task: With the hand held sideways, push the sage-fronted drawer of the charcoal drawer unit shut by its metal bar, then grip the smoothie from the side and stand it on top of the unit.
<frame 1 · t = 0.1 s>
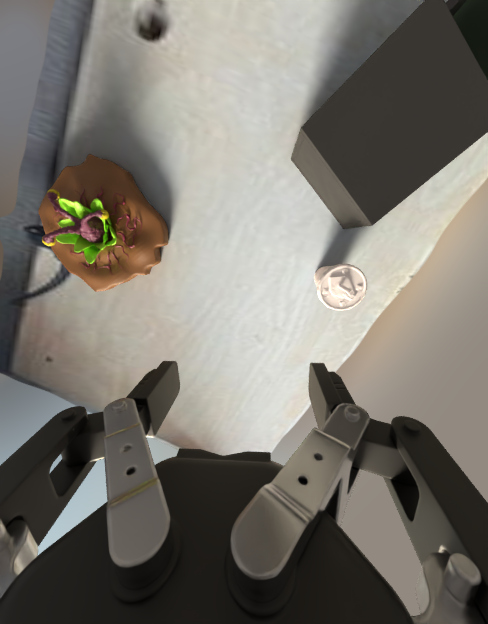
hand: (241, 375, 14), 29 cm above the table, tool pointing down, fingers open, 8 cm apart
drawer: (461, 65, 27), point 5 cm above the table, slide at 7.0 cm
smoothie: (324, 276, 41), on the table
plant: (108, 230, 41), on the table
cabinet: (361, 155, 35), on the table
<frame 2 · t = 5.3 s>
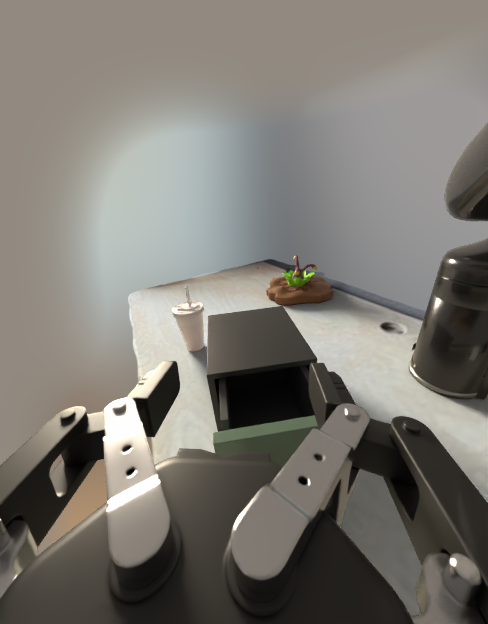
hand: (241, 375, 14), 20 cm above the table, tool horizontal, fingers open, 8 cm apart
drawer: (270, 418, 28), point 5 cm above the table, slide at 7.0 cm
smoothie: (195, 347, 52), on the table
plant: (297, 292, 75), on the table
cabinet: (256, 385, 40), on the table
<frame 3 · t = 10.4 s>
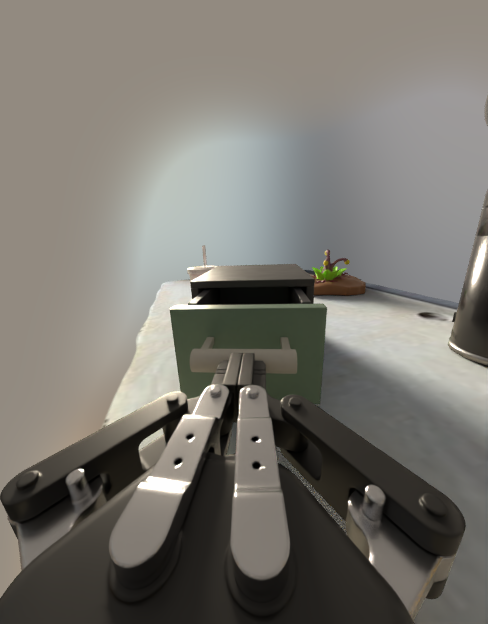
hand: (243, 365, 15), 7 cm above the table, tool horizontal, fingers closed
drawer: (250, 334, 24), point 5 cm above the table, slide at 6.6 cm, touching gripper
smoothie: (206, 313, 51), on the table
plant: (326, 288, 70), on the table
cabinet: (255, 340, 36), on the table
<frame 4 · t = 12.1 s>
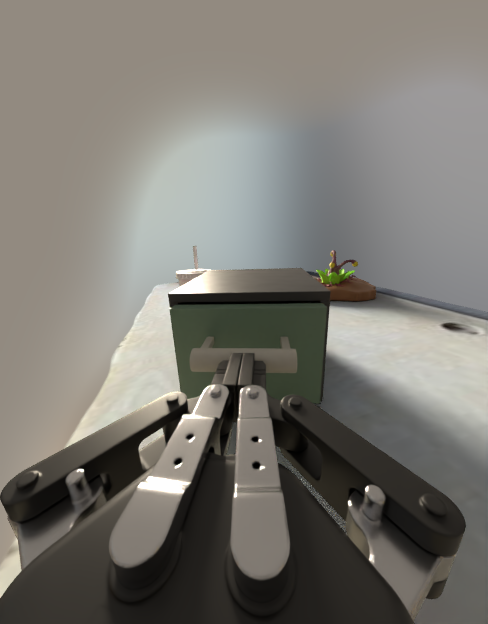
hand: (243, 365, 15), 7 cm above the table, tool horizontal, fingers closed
drawer: (250, 334, 24), point 5 cm above the table, slide at 0.3 cm, touching gripper
smoothie: (198, 322, 45), on the table
plant: (332, 293, 64), on the table
cabinet: (253, 359, 30), on the table
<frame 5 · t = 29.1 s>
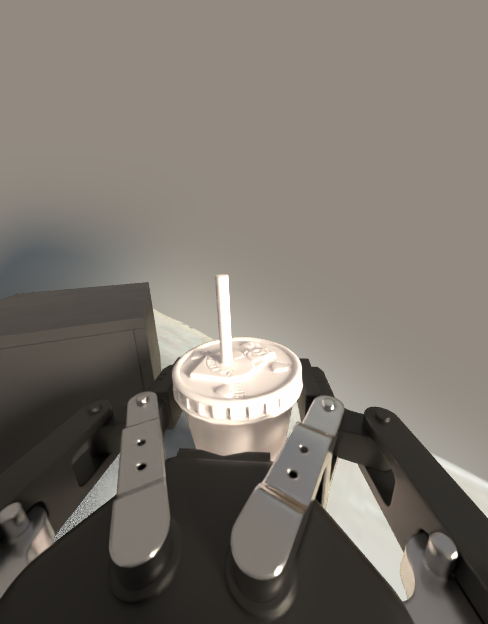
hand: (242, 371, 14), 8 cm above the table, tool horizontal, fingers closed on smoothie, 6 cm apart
smoothie: (243, 502, 15), on the table, touching gripper
cabinet: (92, 402, 24), on the table
when the fingers open (18 cm above the table, at t = 38.0 s): smoothie stays where it is, resting on cabinet.
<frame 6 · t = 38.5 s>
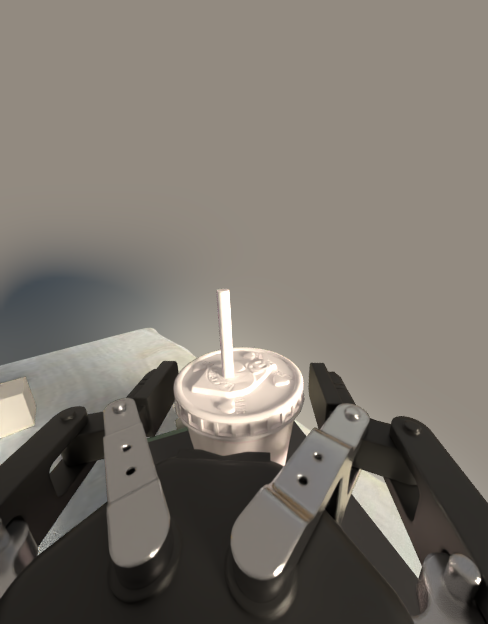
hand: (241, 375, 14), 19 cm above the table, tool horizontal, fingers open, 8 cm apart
drawer: (229, 502, 20), point 5 cm above the table, slide at 0.3 cm
smoothie: (245, 512, 15), point 10 cm above the table, touching cabinet
off-white cube: (11, 425, 37), on the table
cabinet: (249, 606, 18), on the table
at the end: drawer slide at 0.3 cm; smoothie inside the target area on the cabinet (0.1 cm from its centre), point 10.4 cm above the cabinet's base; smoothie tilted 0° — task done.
